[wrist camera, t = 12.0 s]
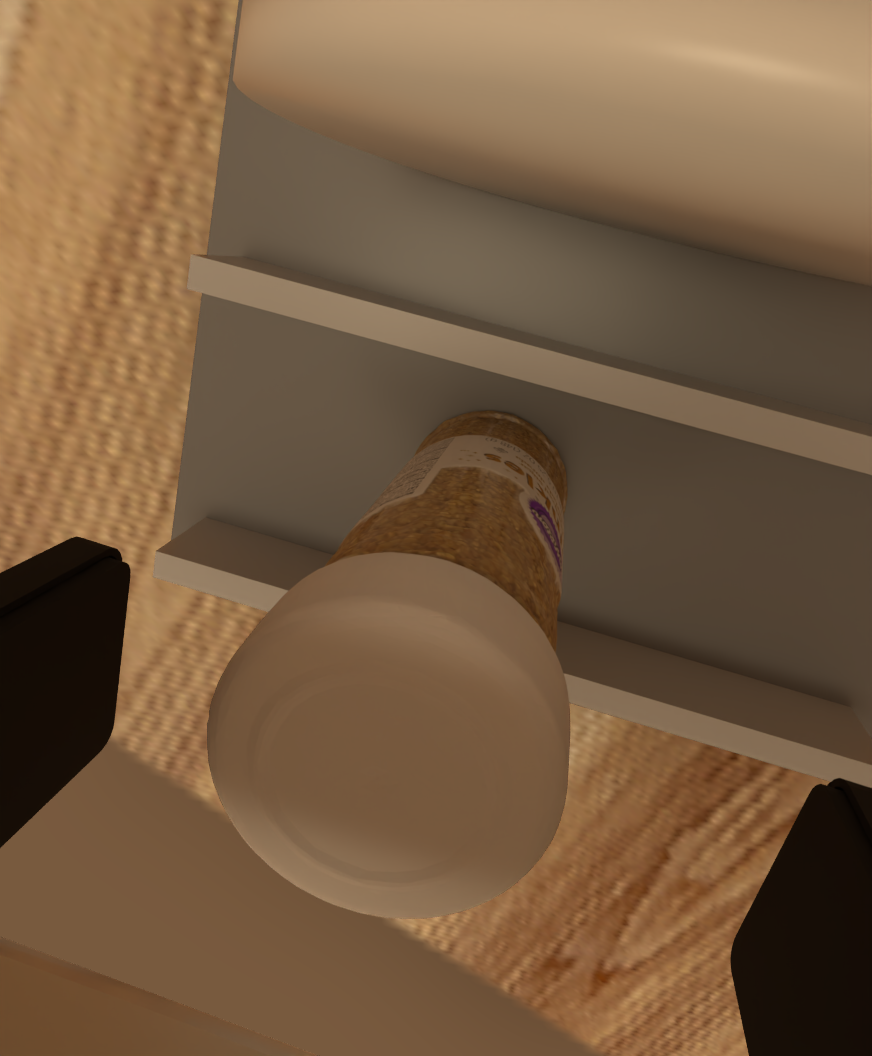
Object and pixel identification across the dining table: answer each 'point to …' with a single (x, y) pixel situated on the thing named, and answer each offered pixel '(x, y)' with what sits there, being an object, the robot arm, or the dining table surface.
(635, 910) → the dining table surface
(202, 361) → the dish rack
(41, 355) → the dining table surface
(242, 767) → the sprinkles bottle
